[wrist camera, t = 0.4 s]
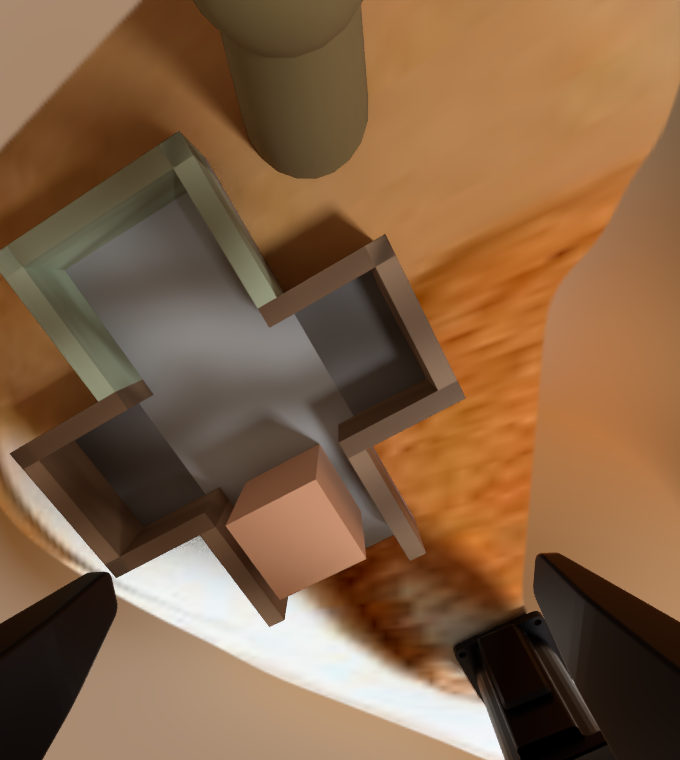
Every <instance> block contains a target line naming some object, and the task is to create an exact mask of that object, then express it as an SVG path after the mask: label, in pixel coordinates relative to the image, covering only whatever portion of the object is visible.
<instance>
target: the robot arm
mask: <svg viewBox="0 0 680 760" xmlns="http://www.w3.org/2000/svg"><path fill="white" fill-rule="evenodd" d="M533 588H534V594H535V597H536V600H537V603H538V605H539V607H540V609H541V611H542V613H543V616H544V617H543V616H542V614H541V613H540V612H538V611H533V612H530V613H528V614H526V615H524V616H521V617H519V618H517V619H514V620H512V621H510V622H507V623H505V624H503V625H501V626H498V627H496V628H494V629H491V630H489V631H487V632H484V633H482V634H480V635H477V636H475V637H473V638H471V639H468V640H466V641H464V642H461V643H459V644H457V645H455V647H454V649H453V650H454V653H455V656H456V659H457V660H458V662H459V664H460V665H461V667H462V668H463V670H464V672H465V673H466V675H467V677H468V678H469V680H470V681H471V683H472V685H473V686H474V688H475V690H476V691H477V693H478V695H479V696H480V698H481V699H482V701H483V703H484V704H485V706H486V708H487V711H488V714H489V717H490V720H491V722H492V725H493V728H494V731H495V733H496V736H497V739H498V742H499V744H500V747H501V750H502V753H503V756H504V758H505V760H680V622H679V621H677V620H675V619H674V618H672V617H670V616H668V615H667V614H665V613H663V612H661V611H660V610H658V609H656V608H654V607H653V606H651V605H649V604H647V603H646V602H644V601H642V600H640V599H639V598H637V597H635V596H633V595H632V594H630V593H628V592H626V591H625V590H623V589H621V588H619V587H618V586H616V585H614V584H612V583H611V582H609V581H607V580H605V579H604V578H602V577H600V576H598V575H597V574H595V573H593V572H591V571H589V570H588V569H586V568H584V567H583V566H581V565H579V564H577V563H576V562H574V561H572V560H570V559H569V558H567V557H565V556H563V555H561V554H559V553H540V554H538V555H537V556H536V560H535V572H534V584H533ZM116 612H117V599H116V595H115V591H114V586H113V582H112V578H111V575H110V574H109V573H107V572H91V573H87V574H85V575H83V576H81V577H79V578H78V579H76V580H74V581H72V582H71V583H69V584H67V585H66V586H64V587H62V588H61V589H59V590H57V591H55V592H54V593H52V594H50V595H49V596H47V597H45V598H43V599H42V600H40V601H38V602H37V603H35V604H34V605H31V606H30V607H28V608H26V609H25V610H23V611H21V612H20V613H18V614H16V615H14V616H13V617H11V618H9V619H8V620H6V621H4V622H3V623H1V624H0V760H42V759H43V758H44V756H45V754H46V752H47V750H48V749H49V747H50V745H51V744H52V742H53V740H54V738H55V736H56V735H57V733H58V731H59V729H60V728H61V726H62V724H63V722H64V721H65V719H66V717H67V715H68V713H69V712H70V710H71V708H72V706H73V704H74V702H75V700H76V698H77V696H78V694H79V692H80V690H81V688H82V686H83V684H84V682H85V679H86V678H87V676H88V673H89V671H90V669H91V667H92V665H93V663H94V661H95V659H96V657H97V654H98V652H99V650H100V648H101V646H102V644H103V642H104V639H105V637H106V635H107V633H108V631H109V629H110V627H111V625H112V622H113V620H114V618H115V616H116ZM544 618H545V619H544ZM545 620H546V621H545ZM546 622H547V623H546ZM572 680H573V681H574V682H573V681H572ZM574 683H575V684H574Z"/></svg>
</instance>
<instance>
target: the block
mask: <svg viewBox="0 0 680 760" xmlns="http://www.w3.org/2000/svg"><path fill="white" fill-rule="evenodd" d="M226 527H227V529H228V530H229V531H230V533H231V534H232V535H233V537H234V538H235V539H236V541H237V542H238V544H239V545H240V546H241V548H242V549H243V550H244V552H245V553H246V554H247V556H248V557H249V559H250V560H251V561H252V563H253V564H254V565H255V567H256V568H257V569H258V571H259V572H260V574H261V575H262V576H263V578H264V579H265V580H266V582H267V583H268V584H269V586H270V587H271V589H272V590H273V591H274V593H275V594H276V595H277V597H278V598H279V599H280V600H281V599H283V598H285V597H287V596H290V595H292V594H294V593H296V592H298V591H300V590H302V589H304V588H306V587H308V586H311V585H313V584H315V583H317V582H319V581H321V580H323V579H325V578H327V577H329V576H332V575H334V574H336V573H338V572H340V571H342V570H344V569H346V568H348V567H350V566H352V565H355V564H357V563H359V562H361V561H363V560H365V559H366V551H365V542H364V533H363V525H362V516H361V510H360V508H359V507H358V505H357V503H356V502H355V500H354V499H353V497H352V495H351V494H350V492H349V491H348V489H347V487H346V486H345V484H344V482H343V481H342V479H341V478H340V476H339V474H338V473H337V471H336V469H335V468H334V466H333V465H332V463H331V461H330V460H329V458H328V457H327V455H326V453H325V452H324V450H323V448H322V447H321V445H320V444H318V445H316V446H314V447H312V448H310V449H308V450H307V451H305V452H303V453H301V454H299V455H297V456H295V457H293V458H291V459H289V460H288V461H286V462H284V463H282V464H280V465H278V466H276V467H274V468H272V469H270V470H268V471H267V472H265V473H263V474H261V475H259V476H257V477H255V478H253V479H251V480H249V481H248V482H246V483H245V485H244V487H243V490H242V492H241V494H240V496H239V498H238V500H237V502H236V504H235V507H234V509H233V511H232V513H231V515H230V517H229V519H228V521H227V524H226Z"/></svg>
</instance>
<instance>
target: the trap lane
mask: <svg viewBox="0 0 680 760" xmlns="http://www.w3.org/2000/svg"><path fill="white" fill-rule="evenodd" d="M0 273H1V274H2V276H3V277H4V278H5V280H6V281H7V282H8V283H9V285H10V286H11V287H12V289H13V290H14V291H15V293H16V294H17V295H18V297H19V298H20V299H21V301H22V302H23V303H24V305H25V306H26V307H27V308H28V310H29V311H30V312H31V314H32V315H33V316H34V318H35V319H36V320H37V322H38V323H39V324H40V326H41V327H42V328H43V330H44V331H45V332H46V333H47V335H48V336H49V337H50V339H51V340H52V341H53V343H54V344H55V345H56V347H57V348H58V349H59V351H60V352H61V353H62V355H63V356H64V357H65V358H66V360H67V361H68V362H69V364H70V365H71V366H72V368H73V369H74V370H75V372H76V373H77V374H78V376H79V377H80V378H81V380H82V381H83V382H84V384H85V385H86V386H87V387H88V389H89V390H90V391H91V393H92V394H93V395H94V397H95V398H96V399H97V401H98V402H97V403H95V404H94V405H92V406H90V407H88V408H87V409H85V410H83V411H82V412H80V413H78V414H76V415H75V416H73V417H71V418H70V419H68V420H66V421H64V422H63V423H61V424H59V425H58V426H56V427H54V428H53V429H51V430H49V431H47V432H46V433H44V434H42V435H41V436H39V437H37V438H35V439H34V440H32V441H30V442H29V443H27V444H25V445H23V446H22V447H20V448H18V449H17V450H15V451H13V452H11V453H10V455H11V456H12V457H13V458H14V459H15V461H16V462H17V463H18V464H19V465H20V466H21V468H22V469H23V470H24V471H25V472H26V473H27V475H28V476H29V477H30V478H31V479H32V480H33V482H34V483H35V484H36V485H37V486H38V487H39V489H40V490H41V491H42V492H43V493H44V494H45V496H46V497H47V498H48V499H49V500H50V501H51V503H52V504H53V505H54V506H55V507H56V508H57V510H58V511H59V512H60V513H61V514H62V515H63V517H64V518H65V519H66V520H67V521H68V522H69V524H70V525H71V526H72V527H73V528H74V529H75V531H76V532H77V533H78V534H79V535H80V536H81V538H82V539H83V540H84V541H85V542H86V543H87V545H88V546H89V547H90V548H91V549H92V550H93V552H94V553H95V554H96V555H97V556H98V557H99V559H100V560H101V561H102V562H103V563H104V564H105V566H106V567H107V568H108V569H109V570H110V571H111V573H112V574H113V575H114V576H115V577H116V578H117V577H119V576H121V575H123V574H125V573H127V572H129V571H131V570H133V569H135V568H137V567H139V566H141V565H143V564H144V563H146V562H148V561H150V560H152V559H154V558H156V557H158V556H160V555H162V554H164V553H166V552H168V551H170V550H172V549H174V548H176V547H178V546H179V545H181V544H183V543H185V542H187V541H189V540H191V539H193V538H195V537H197V536H199V535H200V536H201V537H202V539H203V540H204V541H205V543H206V544H207V545H208V547H209V548H210V549H211V551H212V552H213V553H214V555H215V556H216V557H217V559H218V560H219V561H220V563H221V564H222V565H223V566H224V568H225V569H226V570H227V572H228V573H229V574H230V576H231V577H232V578H233V580H234V581H235V582H236V584H237V585H238V586H239V588H240V589H241V590H242V591H243V593H244V594H245V595H246V597H247V598H248V599H249V601H250V602H251V603H252V605H253V606H254V607H255V609H256V610H257V611H258V613H259V614H260V615H261V616H262V618H263V619H264V620H265V622H266V623H267V624H268V626H269V627H270V626H272V625H275V624H277V623H279V622H281V621H283V620H284V619H285V613H286V606H287V600H288V596H287V597H285V598H283V599H281V600H280V599H279V598H278V597H277V595H276V594H275V593H274V591H273V590H272V589H271V587H270V586H269V584H268V583H267V582H266V580H265V579H264V578H263V576H262V575H261V574H260V572H259V571H258V569H257V568H256V567H255V565H254V564H253V563H252V561H251V560H250V559H249V557H248V556H247V554H246V553H245V552H244V550H243V549H242V548H241V546H240V545H239V544H238V542H237V541H236V539H235V538H234V537H233V535H232V534H231V533H230V531H229V530H228V529H227V527H226V524H227V521H228V519H229V517H230V515H231V513H232V511H233V509H234V507H235V504H236V502H237V500H238V498H239V496H240V494H241V492H242V490H243V487H244V485H245V483H246V482H248V481H249V480H251V479H253V478H255V477H257V476H259V475H261V474H263V473H265V472H267V471H268V470H270V469H272V468H274V467H276V466H278V465H280V464H282V463H284V462H286V461H288V460H289V459H291V458H293V457H295V456H297V455H299V454H301V453H303V452H305V451H307V450H308V449H310V448H312V447H314V446H316V445H318V444H320V445H321V447H322V448H323V450H324V452H325V453H326V455H327V457H328V458H329V460H330V461H331V463H332V465H333V466H334V468H335V469H336V471H337V473H338V474H339V476H340V478H341V479H342V481H343V482H344V484H345V486H346V487H347V489H348V491H349V492H350V494H351V495H352V497H353V499H354V500H355V502H356V503H357V505H358V507H359V508H360V510H361V516H362V525H363V533H364V542H365V549H366V548H368V547H370V546H372V545H374V544H376V543H378V542H380V541H382V540H384V539H386V538H388V537H391V536H393V535H394V536H395V537H396V539H397V541H398V542H399V544H400V546H401V547H402V549H403V551H404V552H405V554H406V556H407V557H408V559H409V560H410V561H411V560H413V559H415V558H417V557H420V556H422V555H424V554H426V551H425V548H424V545H423V542H422V539H421V537H420V534H419V531H418V528H417V525H416V522H415V519H414V517H413V515H412V514H411V512H410V510H409V508H408V507H407V505H406V503H405V501H404V500H403V498H402V496H401V495H400V493H399V491H398V489H397V488H396V486H395V484H394V482H393V481H392V479H391V477H390V476H389V474H388V472H387V470H386V469H385V467H384V465H383V463H382V462H381V460H380V458H379V457H378V455H377V453H376V451H375V450H374V448H373V446H374V445H376V444H378V443H380V442H382V441H384V440H386V439H387V438H389V437H391V436H393V435H395V434H397V433H399V432H401V431H403V430H405V429H407V428H409V427H411V426H413V425H415V424H417V423H419V422H421V421H422V420H424V419H426V418H428V417H430V416H432V415H434V414H436V413H438V412H440V411H442V410H444V409H446V408H448V407H450V406H452V405H454V404H456V403H457V402H459V401H461V400H463V399H465V396H464V394H463V392H462V389H461V387H460V385H459V383H458V381H457V379H456V377H455V375H454V373H453V371H452V369H451V367H450V365H449V363H448V361H447V359H446V357H445V355H444V353H443V351H442V349H441V347H440V345H439V343H438V341H437V339H436V337H435V334H434V332H433V330H432V328H431V326H430V324H429V322H428V320H427V318H426V316H425V314H424V312H423V310H422V308H421V306H420V304H419V302H418V300H417V298H416V296H415V294H414V292H413V290H412V288H411V286H410V284H409V281H408V279H407V277H406V275H405V273H404V271H403V269H402V267H401V265H400V263H399V261H398V259H397V257H396V255H395V253H394V251H393V249H392V247H391V245H390V243H389V241H388V239H387V237H386V235H385V234H384V235H383V236H381V237H379V238H378V239H376V240H374V241H372V242H371V243H369V244H367V245H366V246H364V247H362V248H360V249H359V250H357V251H355V252H354V253H352V254H350V255H348V256H347V257H345V258H343V259H342V260H340V261H338V262H337V263H335V264H333V265H331V266H330V267H328V268H326V269H325V270H323V271H321V272H319V273H318V274H316V275H314V276H313V277H311V278H309V279H307V280H306V281H304V282H302V283H301V284H299V285H297V286H295V287H294V288H292V289H290V290H289V291H287V292H285V293H284V292H283V291H282V289H281V287H280V285H279V284H278V282H277V280H276V279H275V277H274V275H273V273H272V272H271V270H270V268H269V266H268V265H267V263H266V261H265V260H264V258H263V256H262V254H261V253H260V251H259V249H258V247H257V246H256V244H255V242H254V241H253V239H252V237H251V235H250V234H249V232H248V230H247V228H246V227H245V225H244V223H243V222H242V220H241V218H240V216H239V215H238V213H237V211H236V209H235V208H234V206H233V204H232V203H231V201H230V199H229V197H228V196H227V194H226V192H225V190H224V189H223V187H222V185H221V184H220V182H219V180H218V178H217V177H216V175H215V173H214V171H213V170H212V168H211V166H210V164H209V163H208V161H207V159H206V158H205V157H204V156H203V155H202V154H201V153H200V152H199V151H198V150H197V149H196V148H195V147H194V146H193V145H192V144H191V143H190V142H189V141H188V140H187V139H186V138H185V137H184V136H183V134H182V133H181V132H180V131H178V132H177V133H175V134H174V135H172V136H171V137H169V138H168V139H166V140H165V141H163V142H162V143H160V144H159V145H157V146H156V147H154V148H153V149H151V150H150V151H148V152H147V153H145V154H144V155H142V156H141V157H139V158H138V159H136V160H135V161H133V162H132V163H130V164H129V165H127V166H126V167H124V168H123V169H121V170H120V171H118V172H117V173H115V174H114V175H112V176H111V177H109V178H108V179H106V180H105V181H103V182H102V183H100V184H99V185H97V186H96V187H94V188H93V189H91V190H90V191H88V192H87V193H85V194H84V195H82V196H81V197H79V198H78V199H76V200H75V201H73V202H72V203H70V204H69V205H67V206H66V207H64V208H63V209H61V210H60V211H58V212H57V213H55V214H54V215H52V216H51V217H49V218H48V219H46V220H45V221H43V222H42V223H40V224H39V225H37V226H36V227H34V228H33V229H31V230H30V231H28V232H27V233H25V234H24V235H22V236H21V237H19V238H18V239H16V240H15V241H13V242H12V243H10V244H9V245H7V246H6V247H4V248H3V249H1V250H0Z"/></svg>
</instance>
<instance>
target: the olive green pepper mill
mask: <svg viewBox="0 0 680 760" xmlns="http://www.w3.org/2000/svg"><path fill="white" fill-rule="evenodd" d="M193 1H194V3H195V4H196V6H197V7H198V9H199V10H200V12H201V13H202V14H203V15H204V16H205V17H206V18H207V19H208V20H209V21H210V22H211V23H212V25H214V26H215V27H216V28H217V29H218V30H219V31H220V33H221V37H222V41H223V45H224V49H225V52H226V56H227V60H228V64H229V68H230V72H231V76H232V80H233V84H234V87H235V91H236V95H237V99H238V103H239V107H240V111H241V115H242V119H243V122H244V125H245V128H246V131H247V134H248V137H249V140H250V142H251V143H252V145H253V146H254V148H255V149H256V150H257V152H258V153H259V155H260V156H261V158H262V159H263V160H264V161H266V162H267V163H268V164H269V165H271V166H272V167H273V168H274V169H276V170H277V171H278V172H281V173H284V174H286V175H289V176H292V177H294V178H314V179H316V178H319V177H321V176H324V175H327V174H330V173H333V172H335V171H336V170H337V169H338V168H340V167H341V166H342V165H344V164H345V163H346V162H347V161H349V160H350V158H351V157H352V155H353V154H354V152H355V151H356V149H357V148H358V146H359V145H360V143H361V141H362V138H363V134H364V131H365V128H366V125H367V121H368V91H367V78H366V65H365V52H364V39H363V26H362V13H361V3H362V1H363V0H193Z"/></svg>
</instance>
